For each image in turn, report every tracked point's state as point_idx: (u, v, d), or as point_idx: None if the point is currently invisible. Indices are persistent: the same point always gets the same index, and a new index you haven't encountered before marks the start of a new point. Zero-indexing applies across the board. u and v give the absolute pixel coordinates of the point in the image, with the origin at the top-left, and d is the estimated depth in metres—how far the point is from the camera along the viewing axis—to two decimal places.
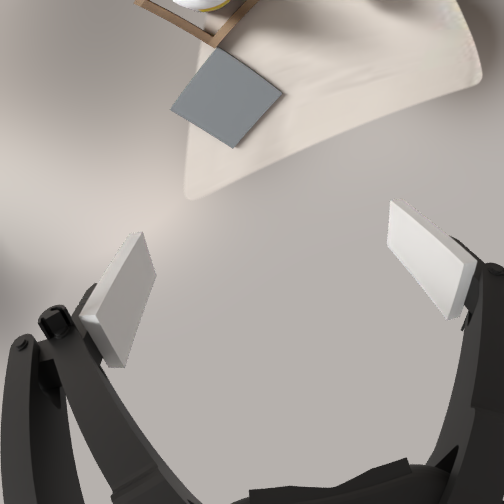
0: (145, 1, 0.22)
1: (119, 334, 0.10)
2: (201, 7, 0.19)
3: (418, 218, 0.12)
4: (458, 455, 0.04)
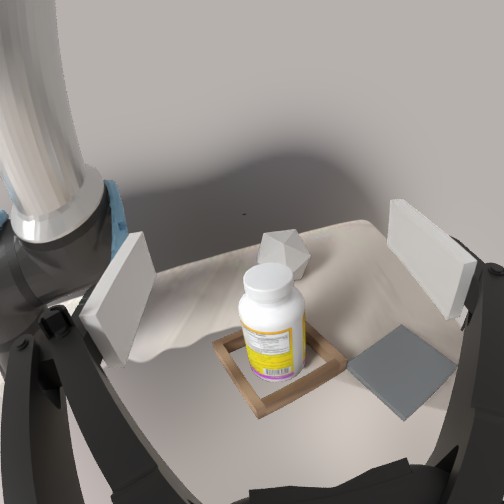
0: (262, 399, 0.28)
1: (119, 334, 0.10)
2: (302, 306, 0.28)
3: (418, 218, 0.12)
4: (458, 455, 0.04)
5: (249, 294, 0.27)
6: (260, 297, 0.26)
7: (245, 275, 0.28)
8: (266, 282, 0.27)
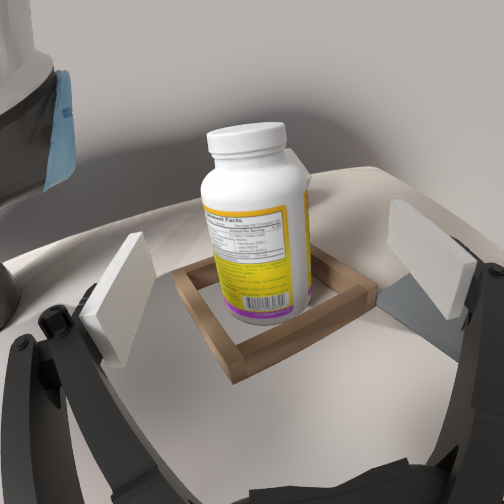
0: (239, 346, 0.16)
1: (119, 334, 0.10)
2: (301, 176, 0.17)
3: (418, 218, 0.12)
4: (458, 455, 0.04)
5: (214, 149, 0.16)
6: (230, 147, 0.15)
7: (211, 131, 0.17)
8: (242, 129, 0.16)
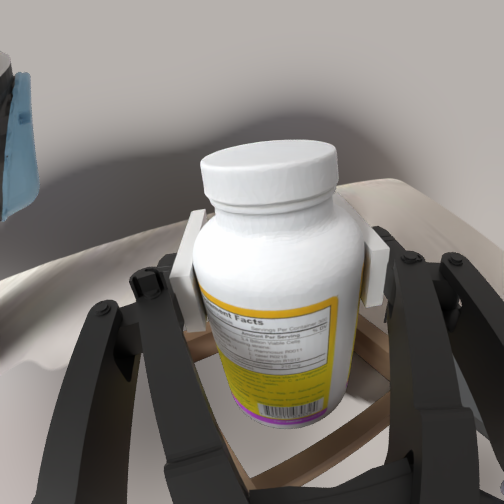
0: (255, 480, 0.10)
1: (201, 298, 0.12)
2: (361, 239, 0.10)
3: None
4: (415, 461, 0.04)
5: (214, 193, 0.09)
6: (244, 195, 0.08)
7: (208, 156, 0.10)
8: (264, 156, 0.09)
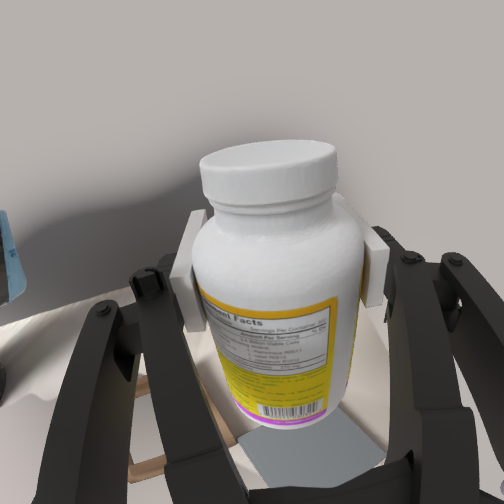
0: (130, 467, 0.20)
1: (201, 298, 0.12)
2: (360, 239, 0.10)
3: None
4: (415, 461, 0.04)
5: (212, 193, 0.09)
6: (243, 195, 0.08)
7: (207, 156, 0.10)
8: (263, 156, 0.09)
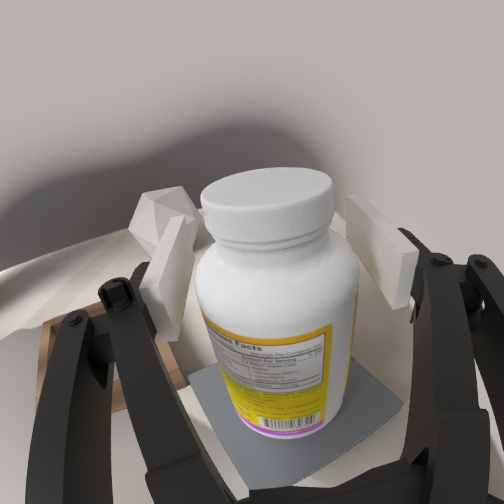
0: None
1: (173, 308, 0.12)
2: (355, 267, 0.11)
3: (368, 211, 0.13)
4: (430, 458, 0.04)
5: (214, 229, 0.10)
6: (243, 233, 0.09)
7: (208, 187, 0.11)
8: (262, 193, 0.09)
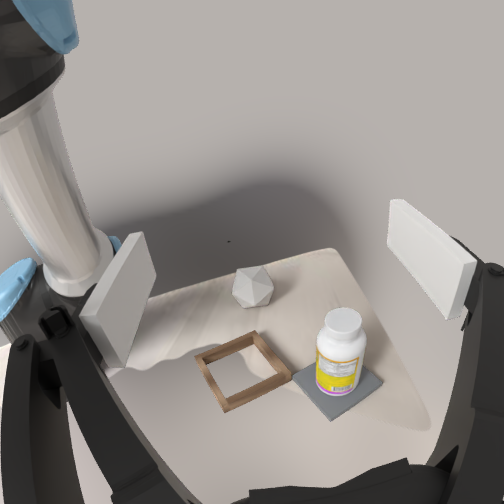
0: (226, 399, 0.39)
1: (119, 334, 0.10)
2: (366, 340, 0.35)
3: (418, 218, 0.12)
4: (458, 455, 0.04)
5: (331, 334, 0.34)
6: (340, 337, 0.33)
7: (326, 319, 0.35)
8: (344, 325, 0.34)
